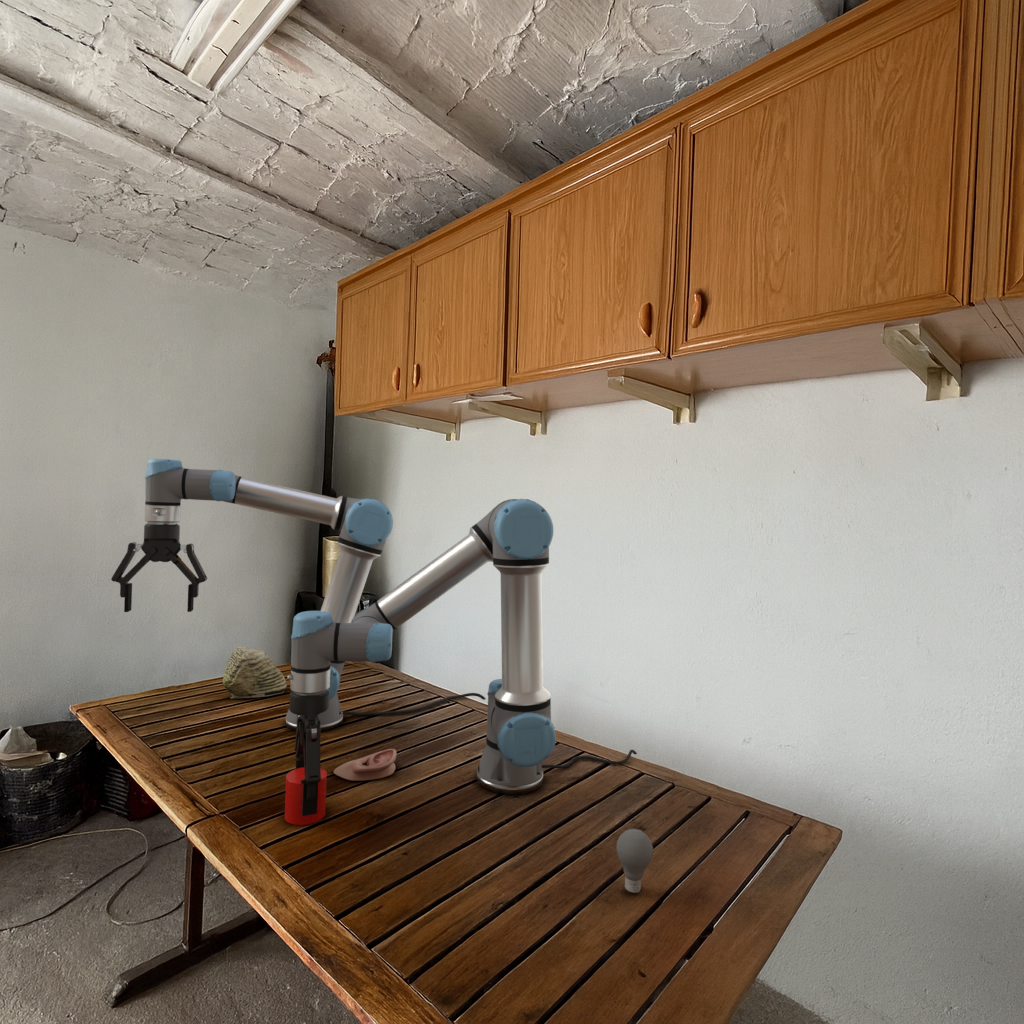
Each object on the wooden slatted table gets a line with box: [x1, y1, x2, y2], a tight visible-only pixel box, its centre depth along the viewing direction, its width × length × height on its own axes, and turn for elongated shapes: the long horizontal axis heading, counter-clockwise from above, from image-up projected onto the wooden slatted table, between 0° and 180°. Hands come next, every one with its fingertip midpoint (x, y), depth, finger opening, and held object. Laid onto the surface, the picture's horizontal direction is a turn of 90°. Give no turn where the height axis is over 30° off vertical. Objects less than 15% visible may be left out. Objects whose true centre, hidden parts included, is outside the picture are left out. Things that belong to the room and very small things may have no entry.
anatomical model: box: [333, 748, 397, 782], centre depth 147 cm, size 13×4×12 cm
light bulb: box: [615, 828, 654, 894], centre depth 106 cm, size 6×6×10 cm
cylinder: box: [284, 767, 328, 826], centre depth 126 cm, size 8×8×8 cm
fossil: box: [222, 646, 288, 699], centre depth 198 cm, size 9×18×15 cm, turn 132°
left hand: (159, 611), depth 153 cm, fingers open, 13 cm apart
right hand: (305, 801), depth 126 cm, fingers open, 10 cm apart
